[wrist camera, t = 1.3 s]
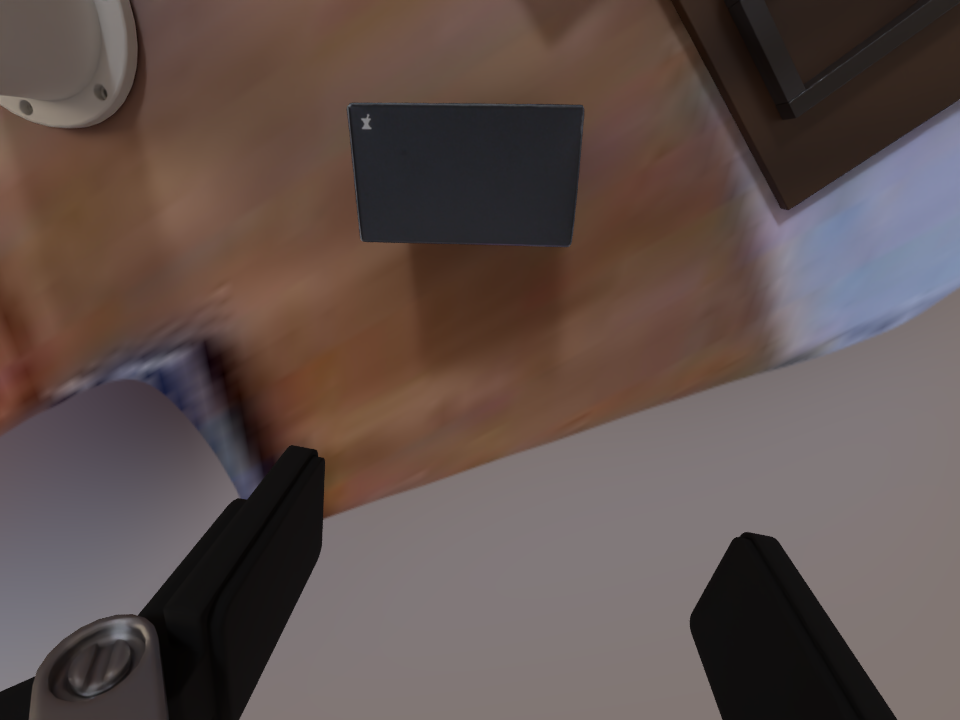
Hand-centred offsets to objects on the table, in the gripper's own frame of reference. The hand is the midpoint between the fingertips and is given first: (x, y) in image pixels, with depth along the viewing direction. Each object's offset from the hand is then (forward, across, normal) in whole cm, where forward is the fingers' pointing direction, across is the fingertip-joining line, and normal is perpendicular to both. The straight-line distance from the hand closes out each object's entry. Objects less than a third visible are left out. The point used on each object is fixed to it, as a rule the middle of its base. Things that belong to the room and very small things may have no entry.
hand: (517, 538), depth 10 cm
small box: (+25, +4, -6) cm, 26 cm away
